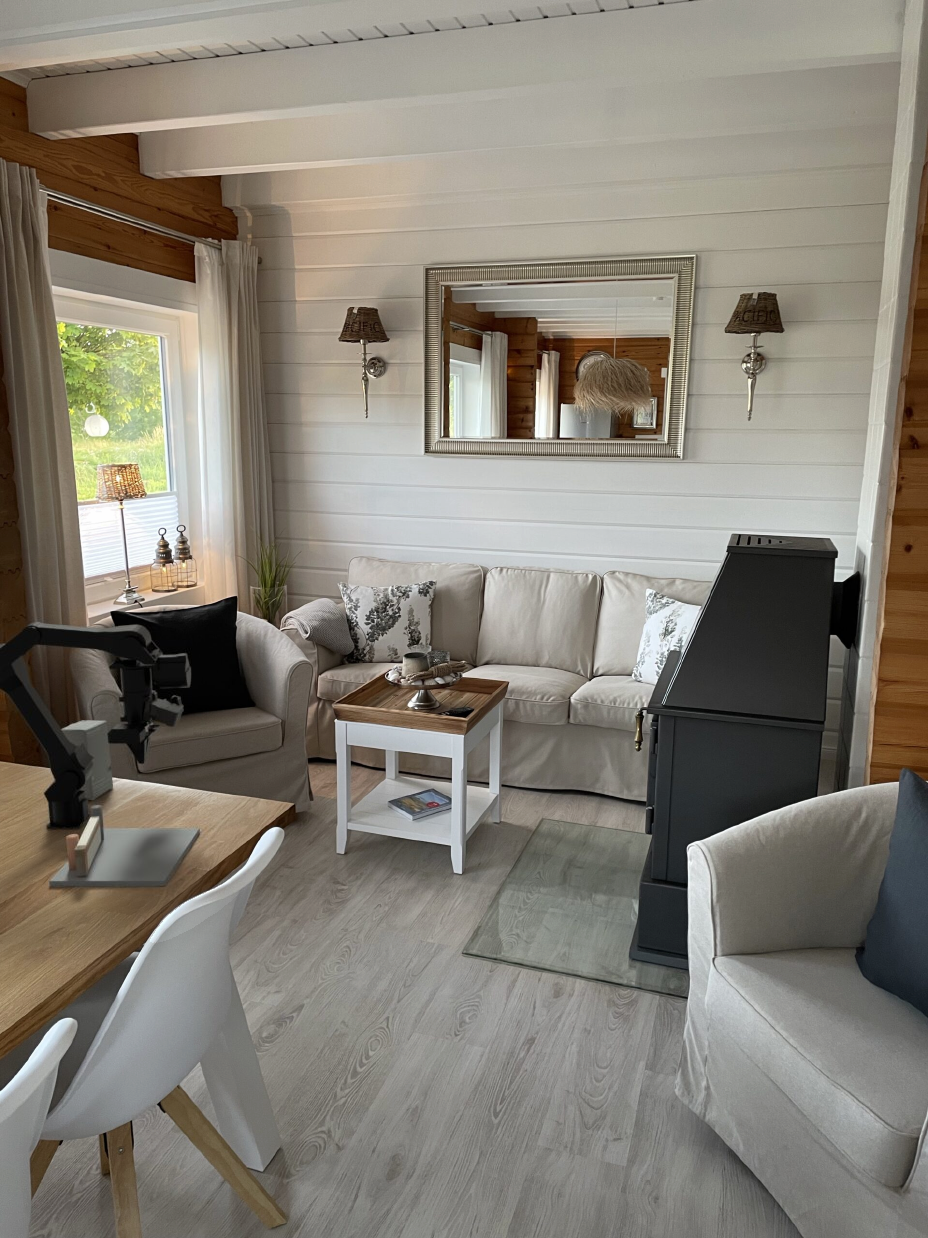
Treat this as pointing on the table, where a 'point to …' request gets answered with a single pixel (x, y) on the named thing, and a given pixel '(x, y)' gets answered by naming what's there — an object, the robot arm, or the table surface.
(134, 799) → the table surface
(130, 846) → the board
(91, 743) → the skincare box
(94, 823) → the gate
